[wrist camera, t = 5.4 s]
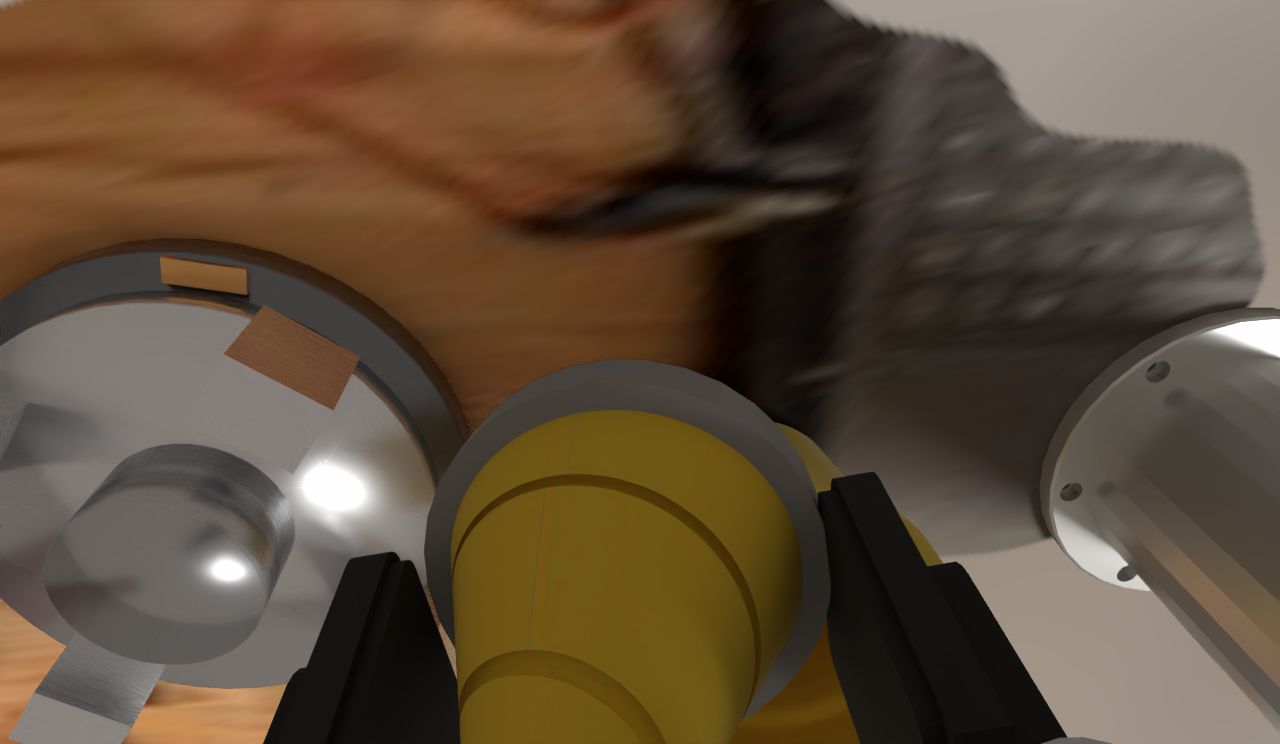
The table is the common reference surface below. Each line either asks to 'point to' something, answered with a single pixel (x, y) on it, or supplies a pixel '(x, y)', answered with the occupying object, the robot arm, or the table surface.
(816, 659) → the plant pot
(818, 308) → the table surface
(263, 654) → the steel lathe chuck
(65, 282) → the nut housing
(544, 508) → the stepped yellow cone
